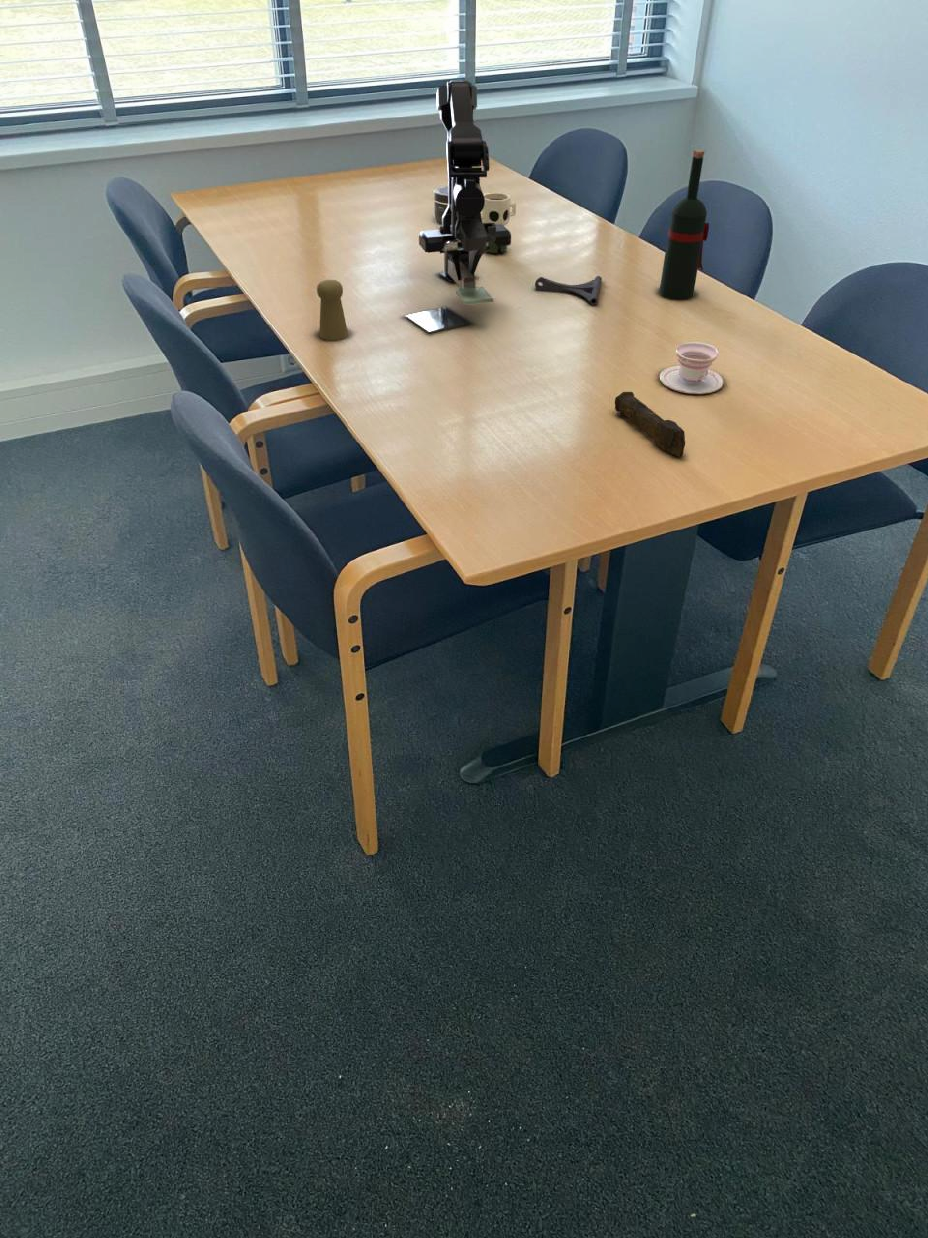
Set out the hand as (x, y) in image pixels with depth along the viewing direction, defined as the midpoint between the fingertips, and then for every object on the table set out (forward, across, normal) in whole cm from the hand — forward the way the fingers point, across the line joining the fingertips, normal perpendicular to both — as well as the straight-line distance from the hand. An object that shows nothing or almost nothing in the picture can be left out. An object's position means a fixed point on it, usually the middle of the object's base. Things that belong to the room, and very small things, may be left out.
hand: (464, 279), depth 197 cm
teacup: (+7, +31, -46) cm, 56 cm away
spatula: (+2, 0, -1) cm, 2 cm away
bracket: (+7, +26, +5) cm, 28 cm away
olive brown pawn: (+7, -30, -5) cm, 31 cm away
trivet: (+7, -7, -4) cm, 11 cm away
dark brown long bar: (+7, +15, -62) cm, 64 cm away
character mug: (+7, +19, +36) cm, 42 cm away
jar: (+7, +16, +63) cm, 66 cm away
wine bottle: (+7, +51, -3) cm, 52 cm away
